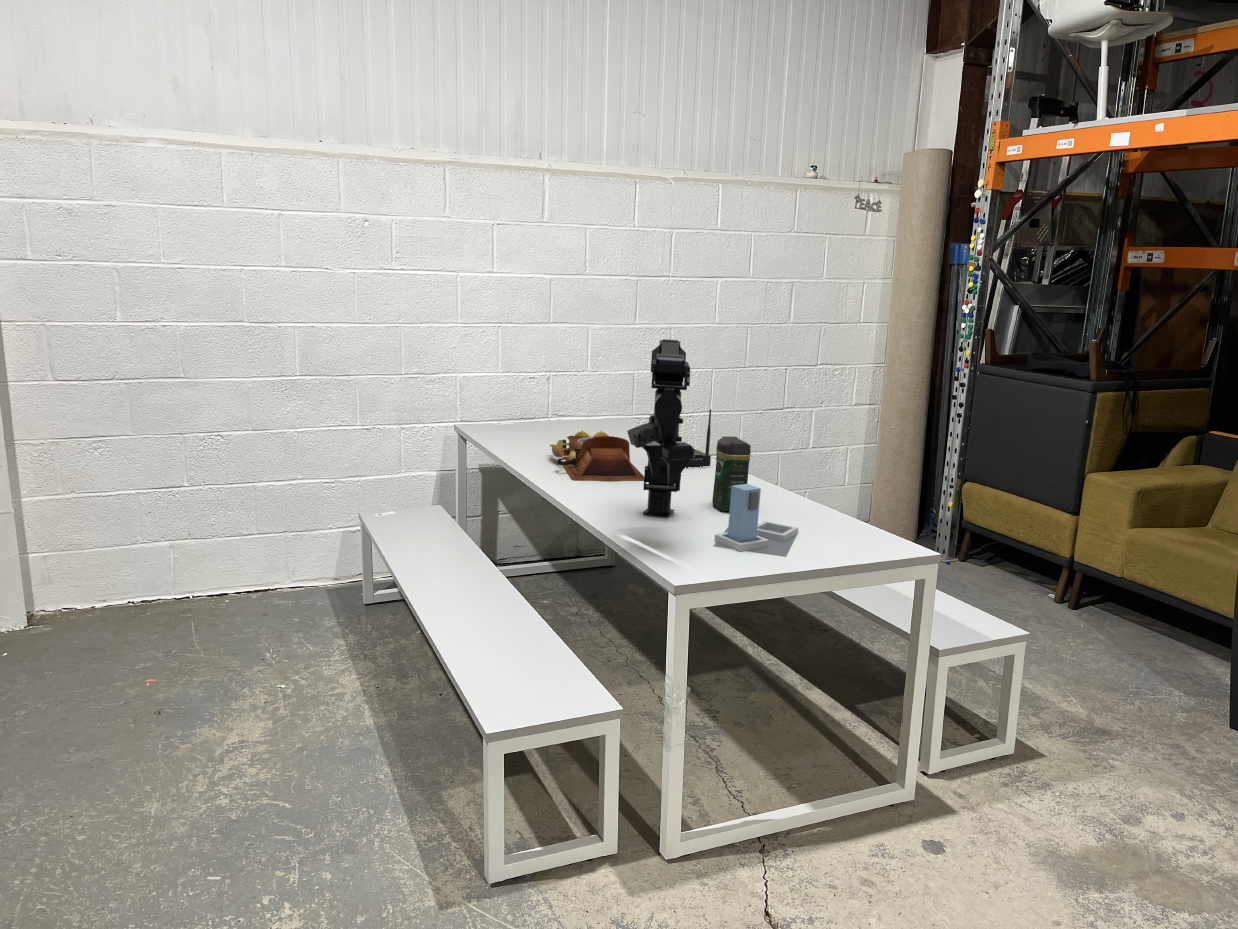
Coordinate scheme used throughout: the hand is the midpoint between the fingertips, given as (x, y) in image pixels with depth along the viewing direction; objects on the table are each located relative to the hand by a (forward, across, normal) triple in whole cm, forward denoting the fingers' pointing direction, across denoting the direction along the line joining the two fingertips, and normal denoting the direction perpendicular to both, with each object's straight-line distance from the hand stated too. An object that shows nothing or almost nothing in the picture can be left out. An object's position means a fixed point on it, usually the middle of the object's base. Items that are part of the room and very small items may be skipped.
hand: (662, 481), depth 207 cm
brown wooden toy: (+16, -74, +10) cm, 76 cm away
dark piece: (+16, -72, +40) cm, 84 cm away
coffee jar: (+14, -21, +29) cm, 39 cm away
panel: (+13, +8, +21) cm, 26 cm away
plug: (+12, +10, +16) cm, 22 cm away
